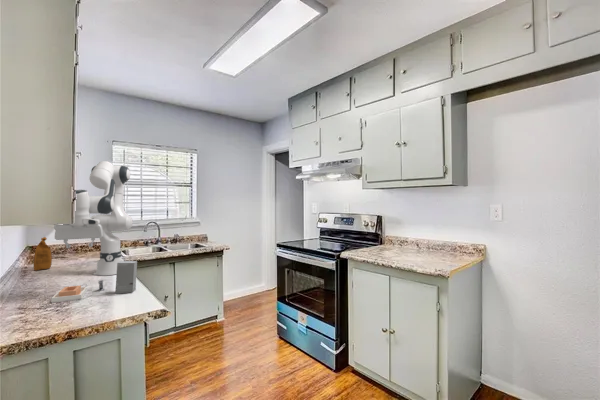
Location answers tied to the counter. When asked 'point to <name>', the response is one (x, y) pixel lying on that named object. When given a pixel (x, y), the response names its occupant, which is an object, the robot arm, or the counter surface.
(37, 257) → the coffee package
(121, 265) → the skincare box
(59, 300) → the tray
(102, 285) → the stake
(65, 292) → the brown open box
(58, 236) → the robot arm
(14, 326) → the counter surface
